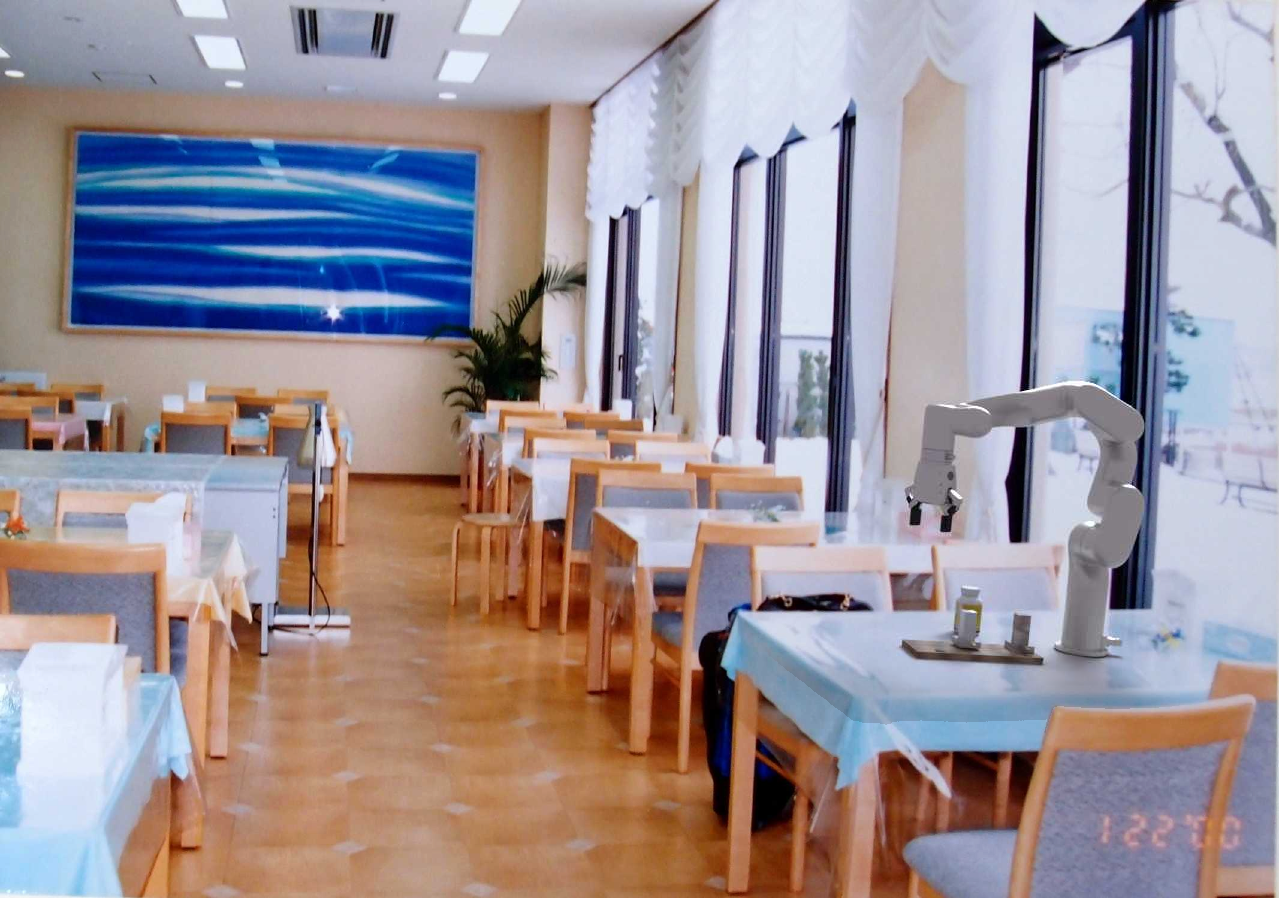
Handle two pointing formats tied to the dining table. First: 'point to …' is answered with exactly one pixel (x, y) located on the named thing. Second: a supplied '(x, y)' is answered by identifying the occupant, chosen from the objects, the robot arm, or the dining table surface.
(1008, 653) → the wooden board with posts
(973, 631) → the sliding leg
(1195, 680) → the dining table surface
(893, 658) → the dining table surface
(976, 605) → the pill bottle
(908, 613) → the dining table surface
